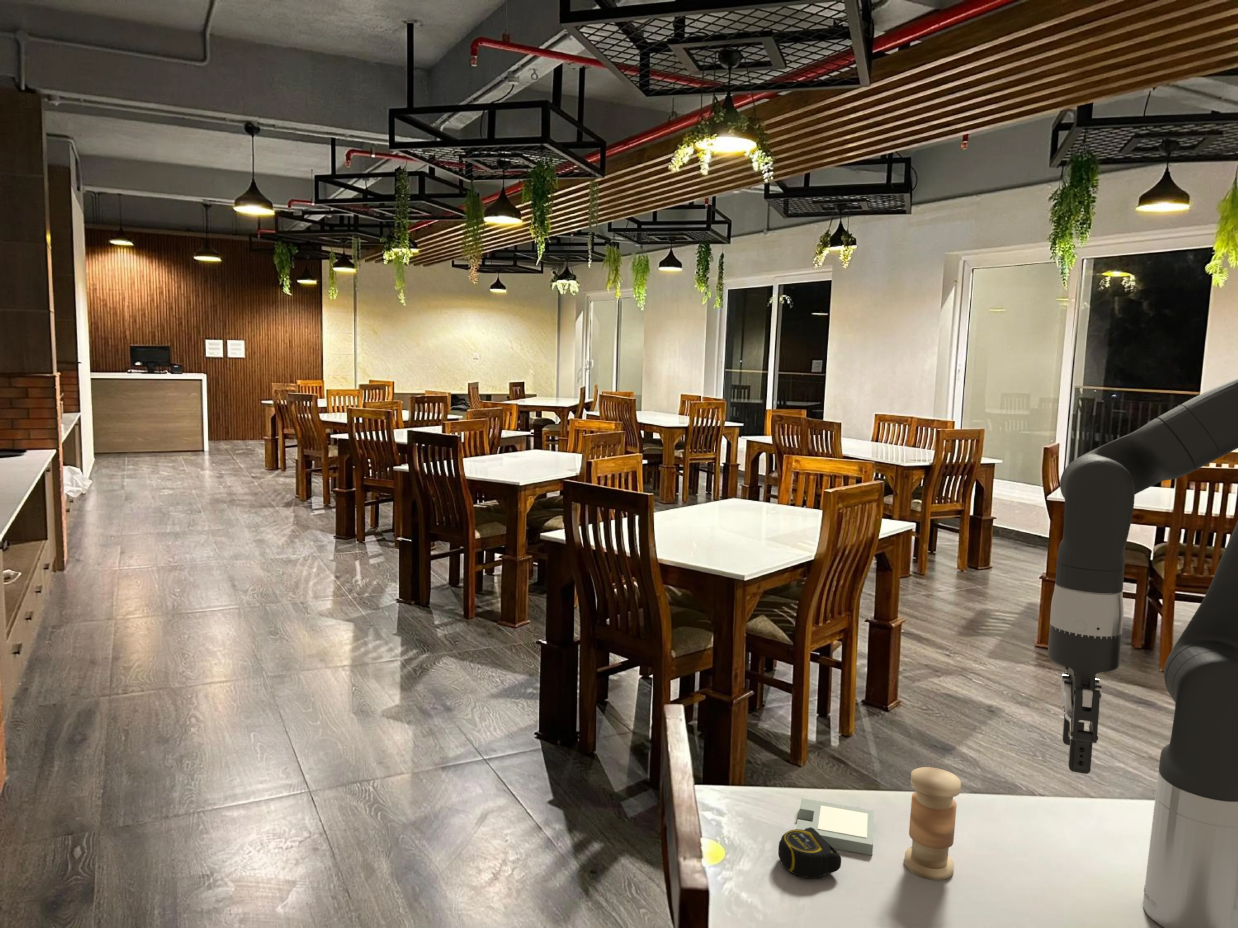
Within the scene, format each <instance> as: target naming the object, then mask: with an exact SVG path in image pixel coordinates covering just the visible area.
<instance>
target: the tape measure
mask: <svg viewBox="0 0 1238 928" xmlns="http://www.w3.org/2000/svg"><path fill="white" fill-rule="evenodd" d="M778 858H779V860H780V863H781V865H782V866H783V867H784V868H785V869H786V870H788V871H789V872H791V873H792V874H793V875H795V876H798V877H803V878H807V879H808V878H809V879H810V878H811V879H815V878H816V879H818V878H820V877H823V876H825V875H827V874H832V873H836V872H837V871H839V869H840V868H841V867H842V866H841V865H842V857H841V855H840V853H839V852H838V851H837V849H835V848H833V847H832V846H831V845H830V844H829V843H828V842H826V841H825V840H824V839H823V838H822V837H821V835H820V834H819V833H818V832H817V831H816V830H815V829H814V828H812V827H810V828H806V829H805V830H800V829H796V828H795V829H790V830H788V831H786V832H784V834H783V835H782V836H781V838H780V840H779V841H778Z"/></svg>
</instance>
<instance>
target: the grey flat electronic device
mask: <svg viewBox="0 0 1238 928" xmlns="http://www.w3.org/2000/svg"><path fill="white" fill-rule="evenodd" d="M874 812H875V811H874V810H873V809H866V808H861V807H856V806H855V807H854V806H850V805H849V806H848V805H842V804H838V803H832V802H827V801H826V802H825V801H820V800H814V799H808V798H803V797H801V799H800V804H799V812H798V813H799V815H798V819H797V821H796V827H795V829H800V830H805V829H806V828H810V827H812V828H814V829H815V830H816V831H817V832H818V833H819V834H820V835H821V837H822V838H823V839H824V840H825V841H826V842H828V843H829V844H830V845H831V846H832V847H833V848H834V849H835V850H840V851H841V850H842V851H846V852H853V853H856V854H857V853H858V854H862V855H863V854H864V855H868V856H869V855H870V856H873V848H874V816H875V813H874Z"/></svg>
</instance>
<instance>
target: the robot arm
mask: <svg viewBox="0 0 1238 928" xmlns="http://www.w3.org/2000/svg"><path fill="white" fill-rule="evenodd" d="M1237 449H1238V378H1235V379H1233V380H1230V381H1228V382H1226V383H1223V384H1221V385H1218V386H1215V387H1214V388H1211V389H1210V390H1207V391H1205V392H1203V393H1201V394H1199V395H1196V396H1194V397H1193V398H1190V399H1189V400H1187V401H1185V402H1183V403H1181V404H1179V405H1177V406H1175V407H1174V408H1172V409H1170V410H1168V411H1166V412H1165V413H1163V414H1161V415H1159V416H1157V417H1156V418H1154V419H1152V420H1151V421H1149V422H1147V423H1146V424H1144V425H1143V426H1141V427H1139V428H1138V429H1136V430H1135V431H1132V432H1130V433H1129V434H1128V433H1127V434H1126V435H1124V436H1121V437H1119V438H1117V439H1114V440H1112V441H1110V442H1107V443H1105V444H1103V445H1100V446H1099V447H1096V448H1094V449H1093V450H1089V451H1088V452H1086V453H1084V454H1082V455H1081V456H1079V457H1077V458H1075V459H1074V460H1072V461H1071V462H1070V463H1069V464H1068V465H1067V466H1066V467H1064V470H1063V472H1062V474H1061V476H1060V481H1059V489H1060V492H1061V494H1062V497H1063V498H1064V517H1063V536H1062V540H1061V541H1060V542H1059V546H1058V549H1057V555H1056V556H1057V557H1056V567H1055V568H1056V569H1055V581H1054V582H1055V584H1054V589H1053V593H1052V599H1051V605H1050V617H1049V618H1050V619H1049V628H1048V629H1049V632H1048V645H1047V657H1048V659H1049V660H1050V661H1051V662H1052V663H1054V664H1055V665H1058V666H1061V667H1063V668H1064V673H1061V677H1060V684H1061V685H1060V686H1061V690H1060V697H1061V698H1060V699H1061V700H1060V701H1061V702H1062V703H1063V704H1062V705H1061V708H1062V711H1063V713H1064V714H1063V725H1062V728H1063V729H1062V742H1063V744H1064V745H1067V746H1069V750H1068V764H1067V765H1068V766H1067V767H1068V770H1069V771H1071V772H1074V773H1078V774H1084V775H1088V774H1089V773H1090V772H1091V771H1092V770H1091V769H1092V767H1091V766H1092V755H1093V744H1097V742H1098V740H1099V736H1098V729H1099V721H1100V716H1101V715H1100V714H1101V713H1100V700H1101V699H1102V694H1103V688H1102V685H1101V684H1100V679H1099V678H1096V676H1097V674H1100V673H1105V674H1106V673H1111V672H1115V671H1116V670H1118V669H1119V667H1120V664H1121V663H1120V662H1121V650H1122V648H1121V647H1122V638H1123V624H1124V612H1125V611H1124V597H1123V594H1124V593H1123V591H1124V590H1123V589H1124V580H1125V579H1124V578H1125V577H1124V576H1125V561H1126V559H1125V557H1126V556H1125V553H1126V552H1125V551H1126V545H1127V541H1128V537H1129V534H1130V528H1131V525H1132V524H1131V523H1132V520H1133V514H1134V507H1135V499H1136V498H1135V496H1136V495H1137V494H1138V493H1142V492H1143V491H1145V490H1146V489H1149V488H1151V487H1153V486H1155V485H1156V484H1158V483H1161V482H1163V481H1172V480H1175V479H1178V478H1179V479H1180V478H1181V477H1185V476H1187V475H1188V474H1191V473H1193V472H1195V471H1197V470H1199V469H1200V468H1203V467H1204V466H1206V465H1209V464H1210V463H1212V462H1214V461H1216V460H1219V459H1220V458H1222V457H1224V456H1226V455H1228V454H1230V453H1232V452H1233V451H1236V450H1237ZM1200 602H1201V603H1200V604H1199V606H1198V608H1197V610H1196V611H1195V613H1194V614H1193V615H1192V617H1191V619H1190V620H1189V623H1188V624H1187V625H1186V627H1185V629H1184V630H1183V632H1182V633H1181V635H1180V636H1179V638H1178V639H1177V641H1176V643H1175V644H1174V646H1173V647H1172V649H1171V651H1170V652H1169V655H1168V656H1167V659H1166V661H1165V664H1164V671H1163V679H1164V684H1165V687H1166V689H1167V692H1168V694H1169V695H1170V697H1171V699H1172V700H1173V701H1174V704H1175V707H1174V713H1173V722H1172V727H1171V735H1170V741H1169V744H1166V745H1165V746H1164V747H1162V749H1161V752H1160V756H1159V765H1158V772H1157V779H1156V780H1157V781H1156V789H1155V796H1154V806H1153V812H1152V813H1153V815H1152V823H1151V832H1150V838H1149V839H1150V840H1149V849H1148V857H1147V865H1146V872H1145V873H1146V874H1145V882H1144V886H1143V900H1142V907H1143V910H1144V912H1145V913H1146V914H1147V915H1148V916H1149V917H1150V919H1151V920H1152V921H1154V922H1155V923H1157V924H1158V925H1159V926H1161V927H1163V928H1238V520H1237V521H1236V524H1235V526H1234V528H1233V531H1232V534H1231V535H1230V538H1229V539H1228V542H1227V544H1226V547H1225V549H1224V550H1223V553H1222V555H1221V558H1220V560H1219V562H1218V565H1217V567H1216V570H1215V573H1214V575H1213V578H1212V581H1211V583H1210V585H1209V587H1208V589H1207V592H1206V593H1205V596H1204V597H1203V598H1202V601H1200ZM1085 724H1087V725H1088V730H1085Z"/></svg>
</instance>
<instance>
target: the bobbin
mask: <svg viewBox="0 0 1238 928" xmlns="http://www.w3.org/2000/svg"><path fill="white" fill-rule="evenodd" d="M910 786H912V788H914V789H915V790H916V791H915V792H913V793H912V795H911V804H910V815H909V827H908V835H909V837H910V839H912V842H911V846H909V847H908V848H907V849H906V850H905V851H904V857H903V858H904V860H903V862H904V866H905V867H906V869H908V870H909V871H910V872H911V873H913V875H915V876H917V877H920V878H923V879H926V880H931V881H944V880H947V879H950V878H951V877H952V876H953V875H954V870H955V869H954V868H955V862H954V860H953V858H952V857H951V856H950V855H949V849H950V848H951V847H952V846H953V845H954V840H955V837H954V836H955V827H956V818H957V807H958V806H957V805H958V804H957V802H956V800H955V799H954V797H957V796H959V795H960V794H961V790H962V781H961V779H960V778H959V777H958V776H957V775H955V774H953V773H952V772H950V771H947V770H945V769H942V768H937V767H929V766H924V767H923V766H922V767H918V768H915V769H913V770H912V771H911V773H910Z"/></svg>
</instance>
